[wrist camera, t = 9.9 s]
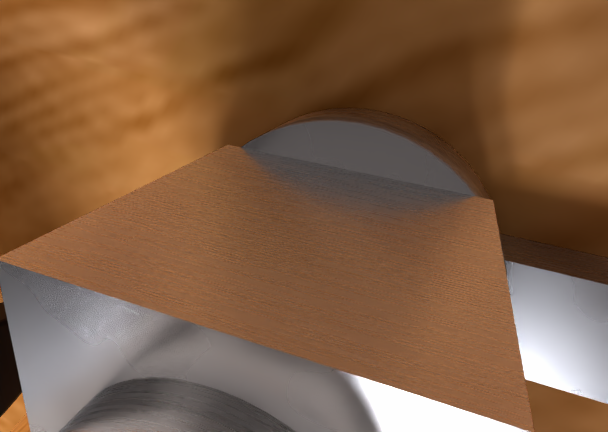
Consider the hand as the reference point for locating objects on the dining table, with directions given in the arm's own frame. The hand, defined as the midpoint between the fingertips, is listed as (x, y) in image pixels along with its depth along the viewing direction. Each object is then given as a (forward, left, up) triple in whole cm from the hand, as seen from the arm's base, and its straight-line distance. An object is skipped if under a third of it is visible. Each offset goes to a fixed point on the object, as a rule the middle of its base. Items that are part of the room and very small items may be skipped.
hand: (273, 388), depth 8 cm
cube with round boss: (0, 0, -4) cm, 4 cm away
